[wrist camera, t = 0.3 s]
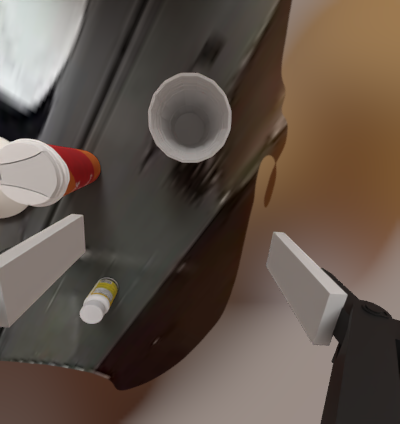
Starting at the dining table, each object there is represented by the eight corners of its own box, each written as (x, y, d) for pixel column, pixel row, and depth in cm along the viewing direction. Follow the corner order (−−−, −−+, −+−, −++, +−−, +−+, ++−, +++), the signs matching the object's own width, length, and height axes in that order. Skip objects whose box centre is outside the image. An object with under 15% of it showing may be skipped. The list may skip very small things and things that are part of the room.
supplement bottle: (105, 299, 47) (88, 330, 39) (91, 283, 46) (71, 311, 38) (123, 289, 47) (110, 318, 38) (110, 272, 45) (93, 298, 37)
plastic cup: (146, 120, 38) (128, 105, 27) (196, 83, 37) (201, 51, 25) (181, 172, 41) (179, 179, 29) (229, 138, 40) (247, 132, 28)
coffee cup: (64, 189, 40) (-5, 209, 26) (57, 143, 38) (-22, 136, 24) (109, 189, 41) (68, 209, 26) (105, 144, 39) (57, 138, 24)
